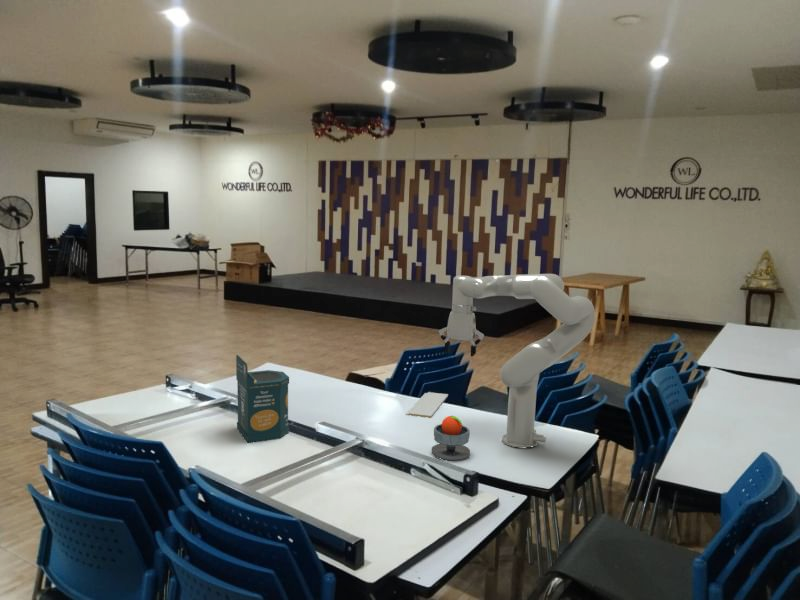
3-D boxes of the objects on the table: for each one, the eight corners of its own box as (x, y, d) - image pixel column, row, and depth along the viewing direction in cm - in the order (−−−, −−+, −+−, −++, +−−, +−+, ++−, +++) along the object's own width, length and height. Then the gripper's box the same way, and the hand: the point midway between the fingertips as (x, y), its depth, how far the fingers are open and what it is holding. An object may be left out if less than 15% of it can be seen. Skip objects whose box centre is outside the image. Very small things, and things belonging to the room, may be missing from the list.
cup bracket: (474, 450, 211) (475, 426, 210) (463, 464, 199) (464, 439, 198) (438, 443, 216) (439, 420, 215) (426, 456, 204) (426, 432, 203)
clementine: (468, 436, 206) (469, 416, 205) (456, 442, 201) (456, 421, 200) (449, 431, 212) (450, 411, 211) (436, 436, 206) (437, 415, 206)
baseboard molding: (401, 416, 246) (430, 419, 243) (402, 409, 246) (431, 412, 242) (422, 394, 275) (448, 397, 272) (422, 388, 275) (448, 391, 272)
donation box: (236, 428, 225) (236, 354, 221) (279, 422, 233) (279, 350, 229) (247, 443, 211) (246, 364, 207) (292, 436, 219) (292, 360, 215)
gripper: (487, 309, 227) (485, 354, 229) (443, 305, 233) (441, 349, 236) (482, 312, 220) (479, 359, 223) (436, 308, 226) (434, 353, 229)
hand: (460, 354), depth 229 cm, fingers open, 9 cm apart
